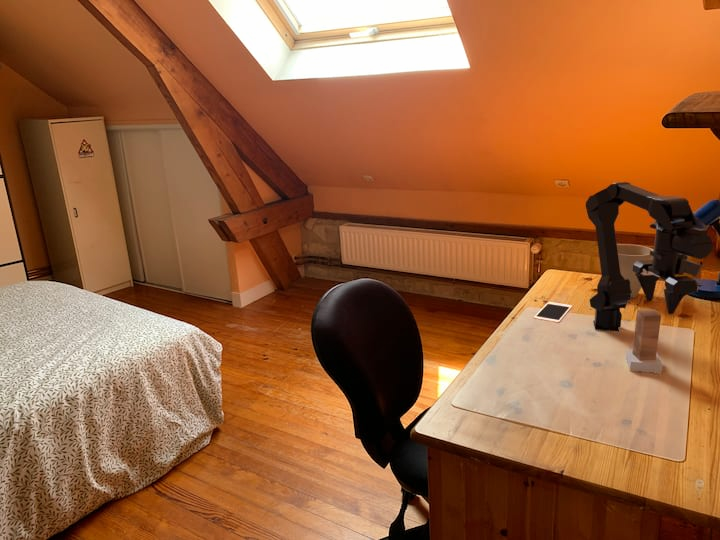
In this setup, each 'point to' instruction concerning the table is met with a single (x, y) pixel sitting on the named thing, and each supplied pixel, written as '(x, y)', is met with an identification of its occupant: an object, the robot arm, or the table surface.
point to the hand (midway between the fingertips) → (659, 307)
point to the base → (643, 363)
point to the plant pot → (626, 261)
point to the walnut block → (646, 334)
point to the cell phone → (553, 312)
